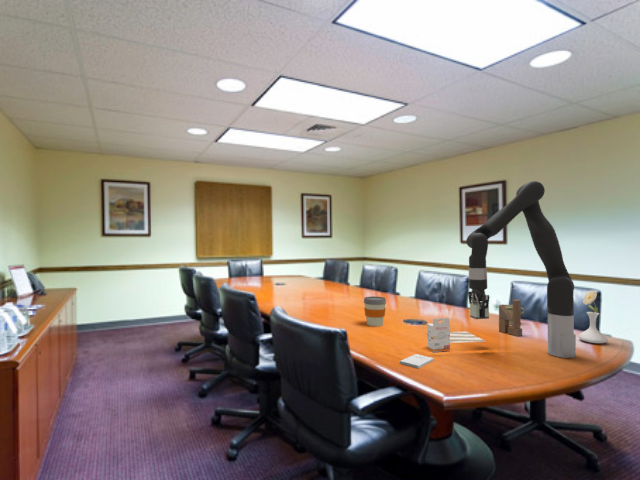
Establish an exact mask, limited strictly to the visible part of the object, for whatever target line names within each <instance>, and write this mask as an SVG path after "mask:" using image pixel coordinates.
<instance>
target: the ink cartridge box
mask: <svg viewBox="0 0 640 480" xmlns="http://www.w3.org/2000/svg"><path fill="white" fill-rule="evenodd" d="M450 327H451V326H450V318H449V317H441V318H432V323H426V333H427V334H426V338H427V339H426V346H427V348H428V349H431V350H432V351H430V353H433V354H435V353H445V352H449V350H445V349H451V343H450V332H451V329H450Z"/></svg>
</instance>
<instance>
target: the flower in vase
mask: <svg viewBox="0 0 640 480" xmlns="http://www.w3.org/2000/svg"><path fill="white" fill-rule="evenodd" d="M597 295H598V293H597V291H596V290H595V289H594V290H589V291H588V292H586V293H585V295H584V296H583V298H582V300H583V301H582V304H584V305H585V306H587V305H588V308H589V309H591V310H592V311H586V315H587V316H588V318H589V327H588V328H587V329H586V330H584V331H582V332H580V333H579V334H578V338H579V340H581V341H583V342H587V343H592V344H606V343H608V341H609V340H608V338H607V336H605V334H603V333H602V332H601V331H599V330H598V328H597V318H598V316H599V315H600V313H599V310H598V307H597V306H596V303H595V300H596V299H597ZM592 303H593V304H594V307H593V306H592Z"/></svg>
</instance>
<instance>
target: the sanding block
mask: <svg viewBox="0 0 640 480" xmlns="http://www.w3.org/2000/svg"><path fill="white" fill-rule="evenodd" d="M485 305H486V303H485ZM481 306H482V304H481ZM469 314H470V315H469V317H470V318H473V319H475V320H486V319H488V320H489V319H490V305H489V306H488V308H486V309H485V318H480V316H479V305H478V304H477V303H474V304H473V303H472V304H469Z"/></svg>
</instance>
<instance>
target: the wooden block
mask: <svg viewBox="0 0 640 480" xmlns="http://www.w3.org/2000/svg"><path fill="white" fill-rule="evenodd" d="M504 305H505V304H498V332H499V333H502V334H508V335H511V336H515V337H522V336H523V328H522V327H521V326H522V325H521V315H522V314H521V313H522V312H521V308H522V307H521V300H520V299H516V298H514V299H512V305H513V316H512V315H511V314H510V312H509V311H508V310H507V308H506V307H505V306H504ZM509 320H510V321H512V325H509Z"/></svg>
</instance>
